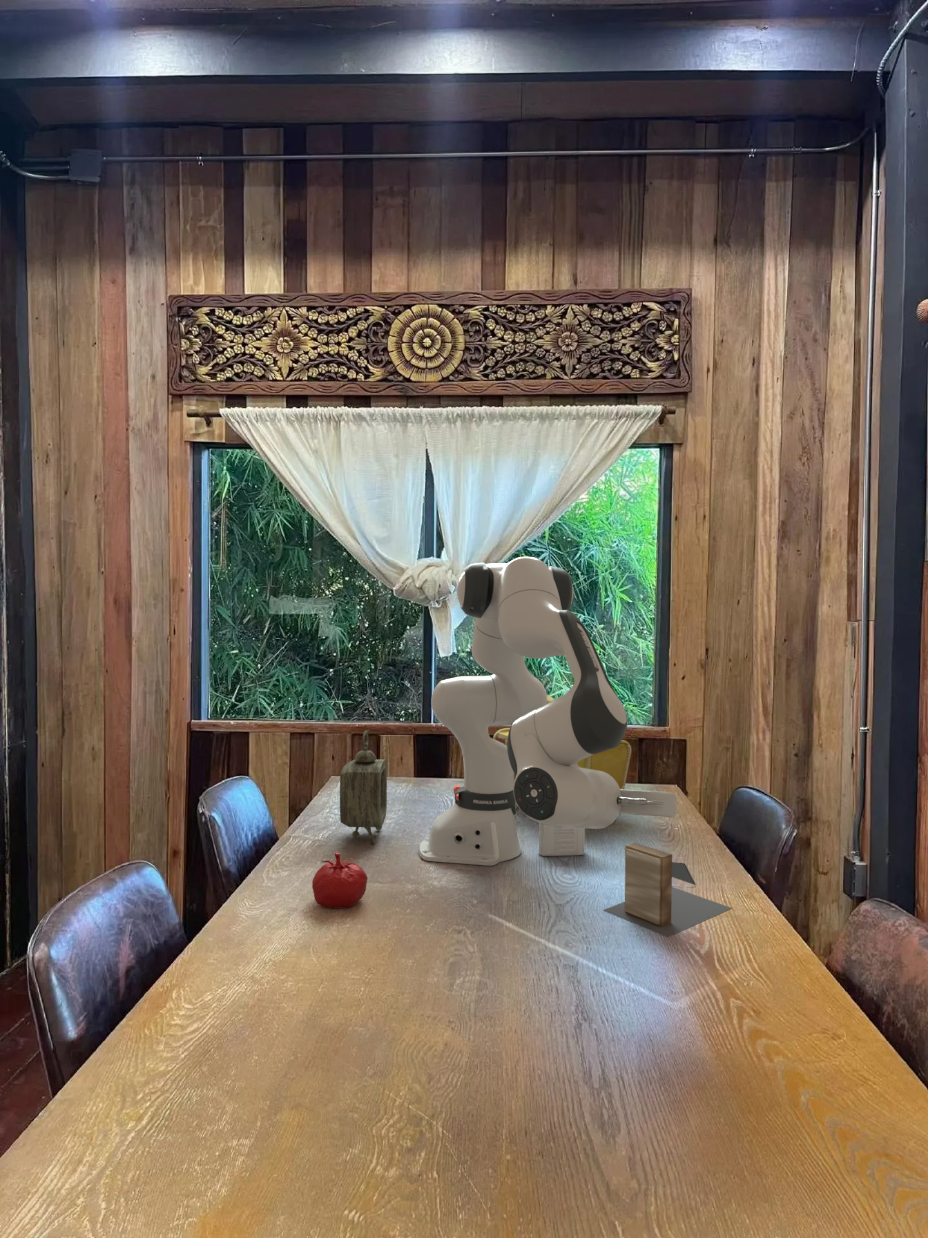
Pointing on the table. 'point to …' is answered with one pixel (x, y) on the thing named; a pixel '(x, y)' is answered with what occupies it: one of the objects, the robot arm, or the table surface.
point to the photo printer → (561, 840)
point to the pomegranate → (339, 884)
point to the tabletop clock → (364, 791)
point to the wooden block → (648, 884)
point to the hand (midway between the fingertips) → (632, 803)
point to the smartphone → (681, 873)
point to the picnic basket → (595, 757)
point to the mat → (676, 913)
